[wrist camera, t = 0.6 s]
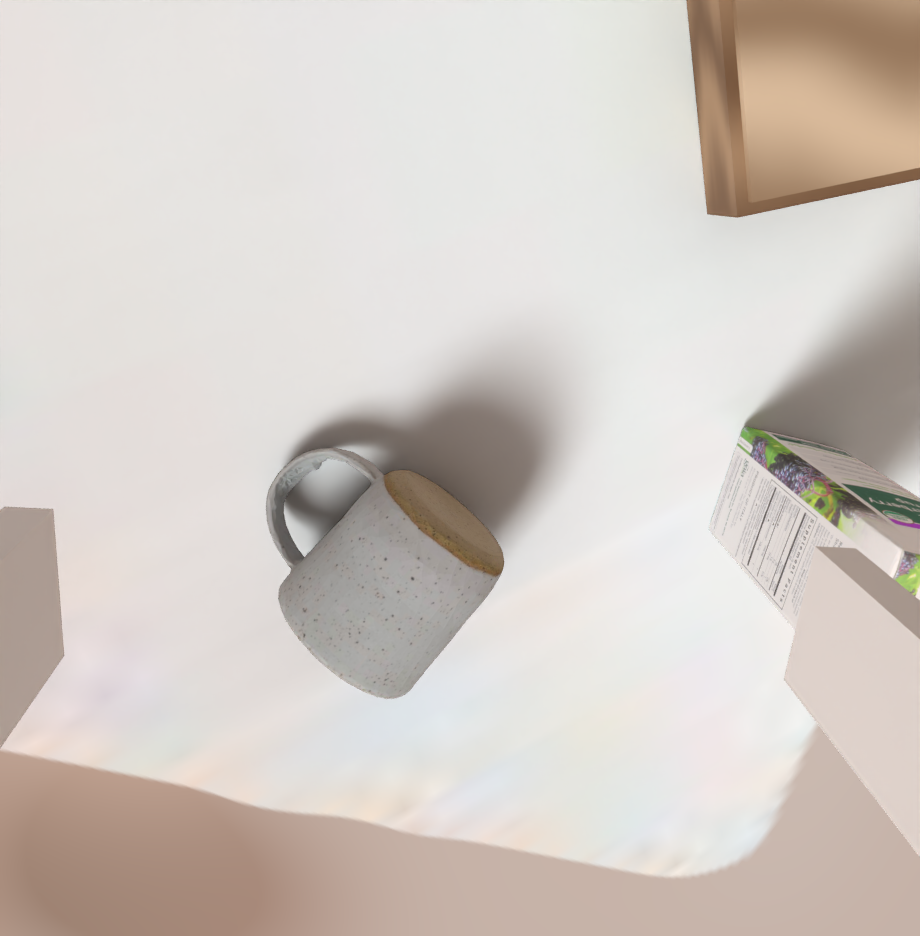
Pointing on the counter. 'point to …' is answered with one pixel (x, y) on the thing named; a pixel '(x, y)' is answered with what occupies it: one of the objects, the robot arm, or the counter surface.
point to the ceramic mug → (383, 575)
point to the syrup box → (810, 515)
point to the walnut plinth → (804, 99)
